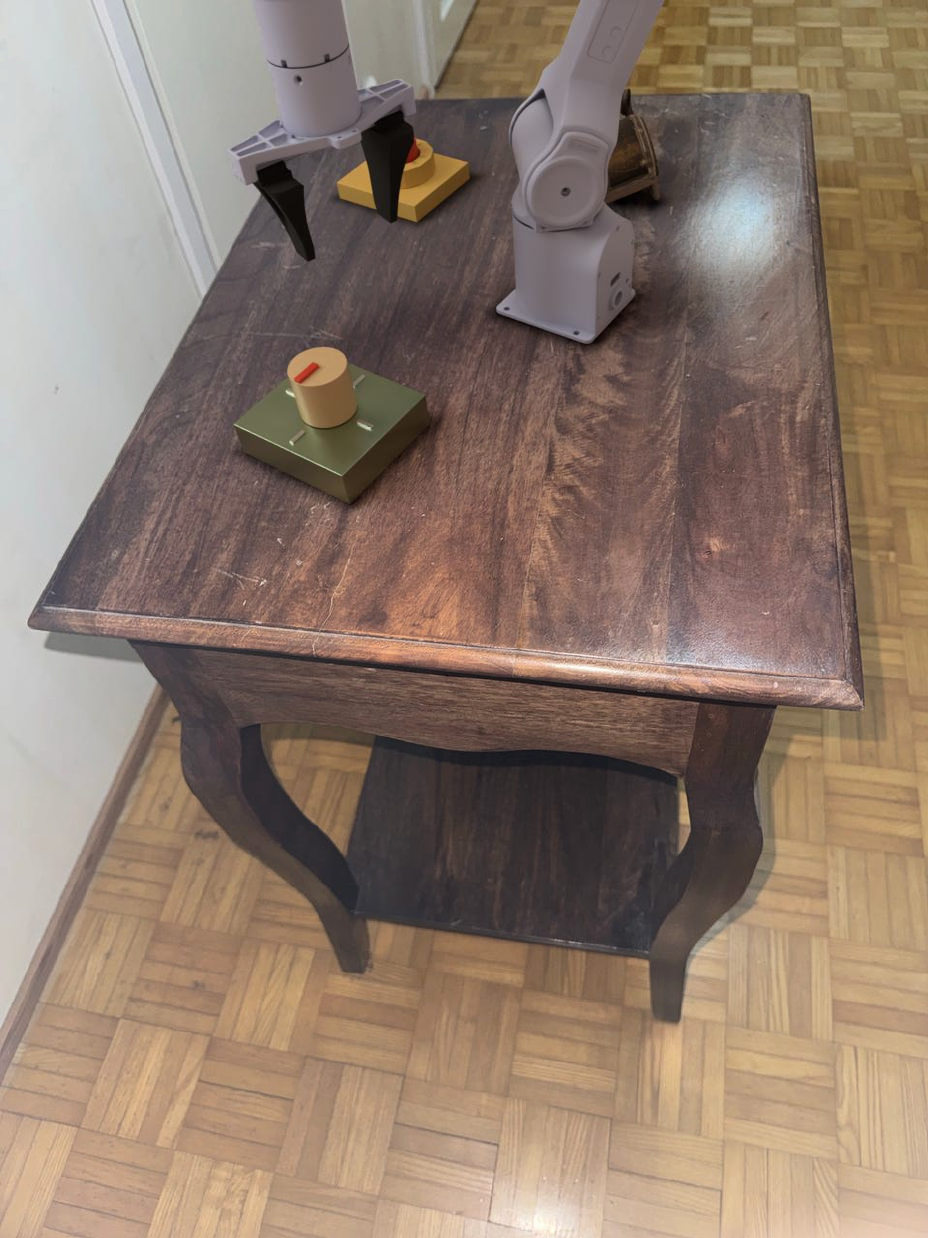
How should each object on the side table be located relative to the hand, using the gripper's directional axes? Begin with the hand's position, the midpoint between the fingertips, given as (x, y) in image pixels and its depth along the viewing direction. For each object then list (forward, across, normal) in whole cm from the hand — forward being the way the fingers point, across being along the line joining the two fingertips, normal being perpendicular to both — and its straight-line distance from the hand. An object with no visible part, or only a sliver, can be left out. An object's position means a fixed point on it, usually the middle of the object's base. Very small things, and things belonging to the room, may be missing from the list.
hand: (347, 235), depth 72 cm
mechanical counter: (+9, +28, +3) cm, 29 cm away
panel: (+9, -9, -10) cm, 16 cm away
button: (+6, +15, +17) cm, 24 cm away
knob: (+6, -9, -10) cm, 15 cm away
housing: (+9, +15, +17) cm, 24 cm away
